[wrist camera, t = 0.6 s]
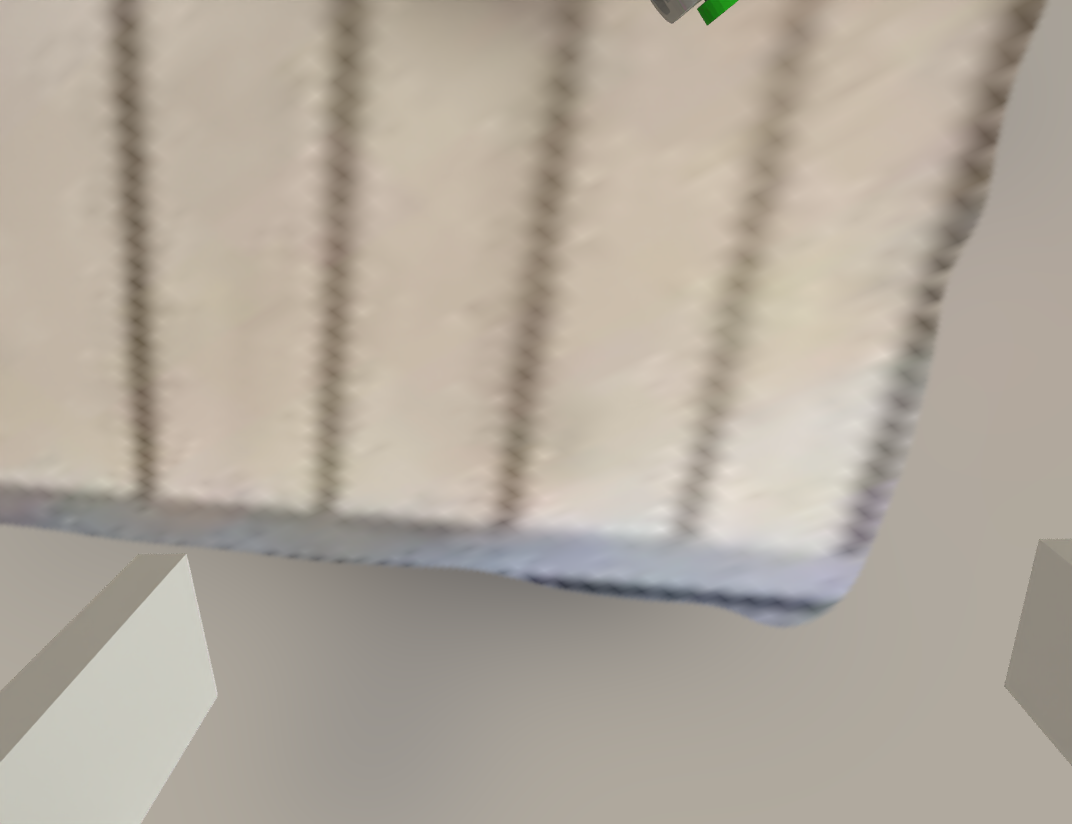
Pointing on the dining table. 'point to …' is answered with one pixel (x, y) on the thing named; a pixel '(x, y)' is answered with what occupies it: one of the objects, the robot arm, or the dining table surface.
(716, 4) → the mechanical component
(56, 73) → the dining table surface
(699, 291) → the dining table surface
